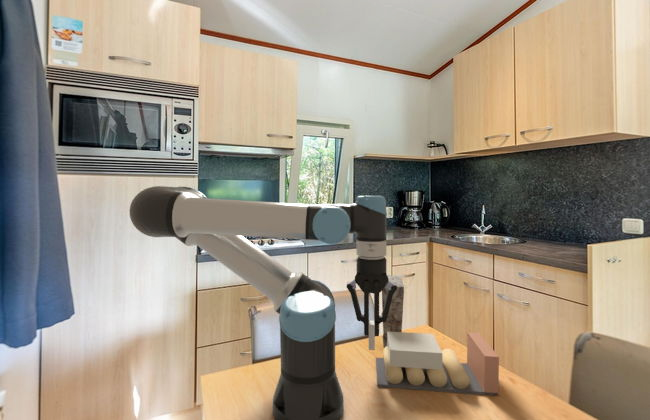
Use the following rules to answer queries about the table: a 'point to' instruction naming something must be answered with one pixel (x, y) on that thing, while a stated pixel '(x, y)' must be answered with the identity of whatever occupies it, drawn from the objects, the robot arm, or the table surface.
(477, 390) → the roller bed
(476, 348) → the stop block
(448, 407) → the table surface
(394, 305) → the stone block
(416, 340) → the slab
